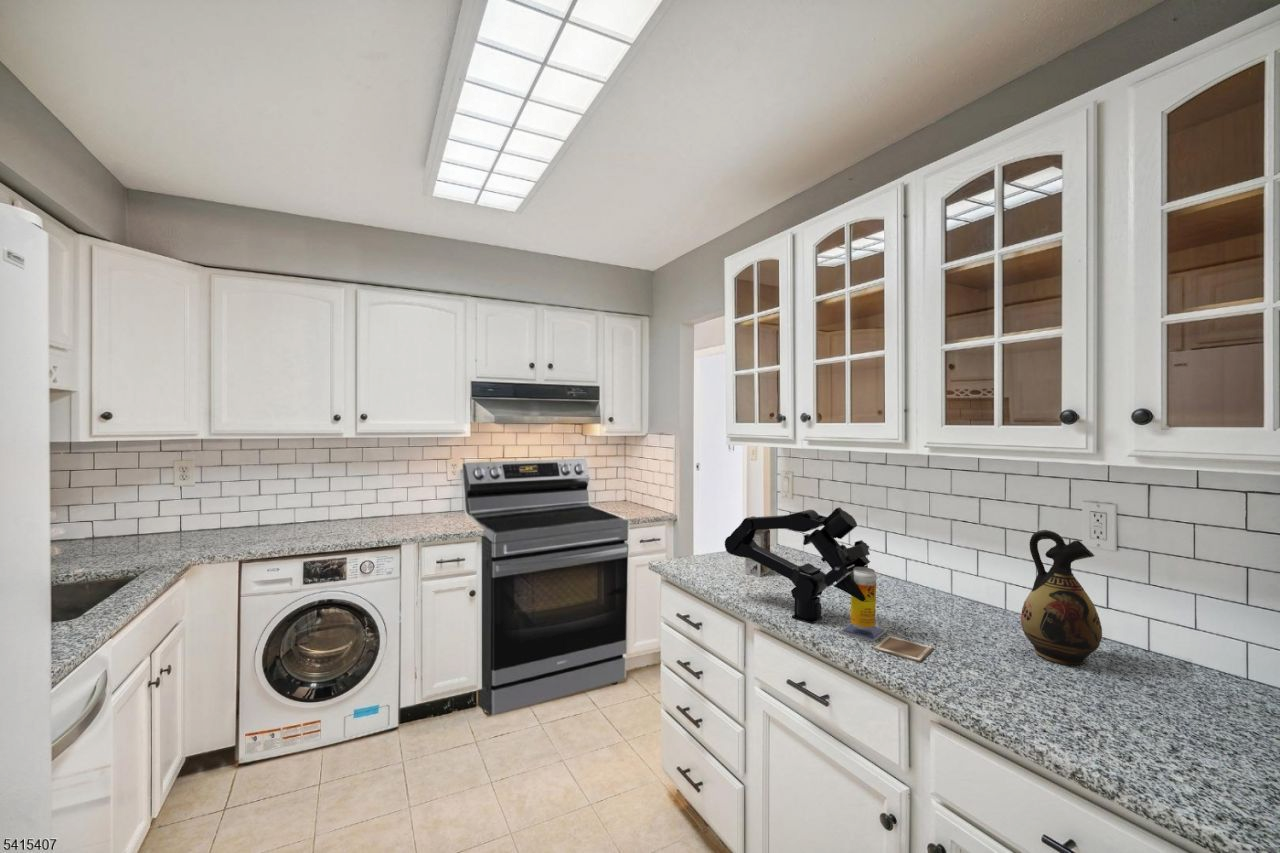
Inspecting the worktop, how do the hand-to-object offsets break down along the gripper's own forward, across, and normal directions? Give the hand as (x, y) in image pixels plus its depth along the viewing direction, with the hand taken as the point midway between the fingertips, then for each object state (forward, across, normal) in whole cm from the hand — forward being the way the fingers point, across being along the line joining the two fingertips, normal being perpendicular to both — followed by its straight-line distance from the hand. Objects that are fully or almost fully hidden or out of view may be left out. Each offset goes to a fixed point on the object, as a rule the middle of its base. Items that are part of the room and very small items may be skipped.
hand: (868, 597), depth 144 cm
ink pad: (+6, 0, +8) cm, 10 cm away
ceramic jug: (+33, +18, -20) cm, 43 cm away
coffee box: (-29, +32, +44) cm, 62 cm away
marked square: (+14, -4, 0) cm, 14 cm away
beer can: (+5, 0, +7) cm, 8 cm away
